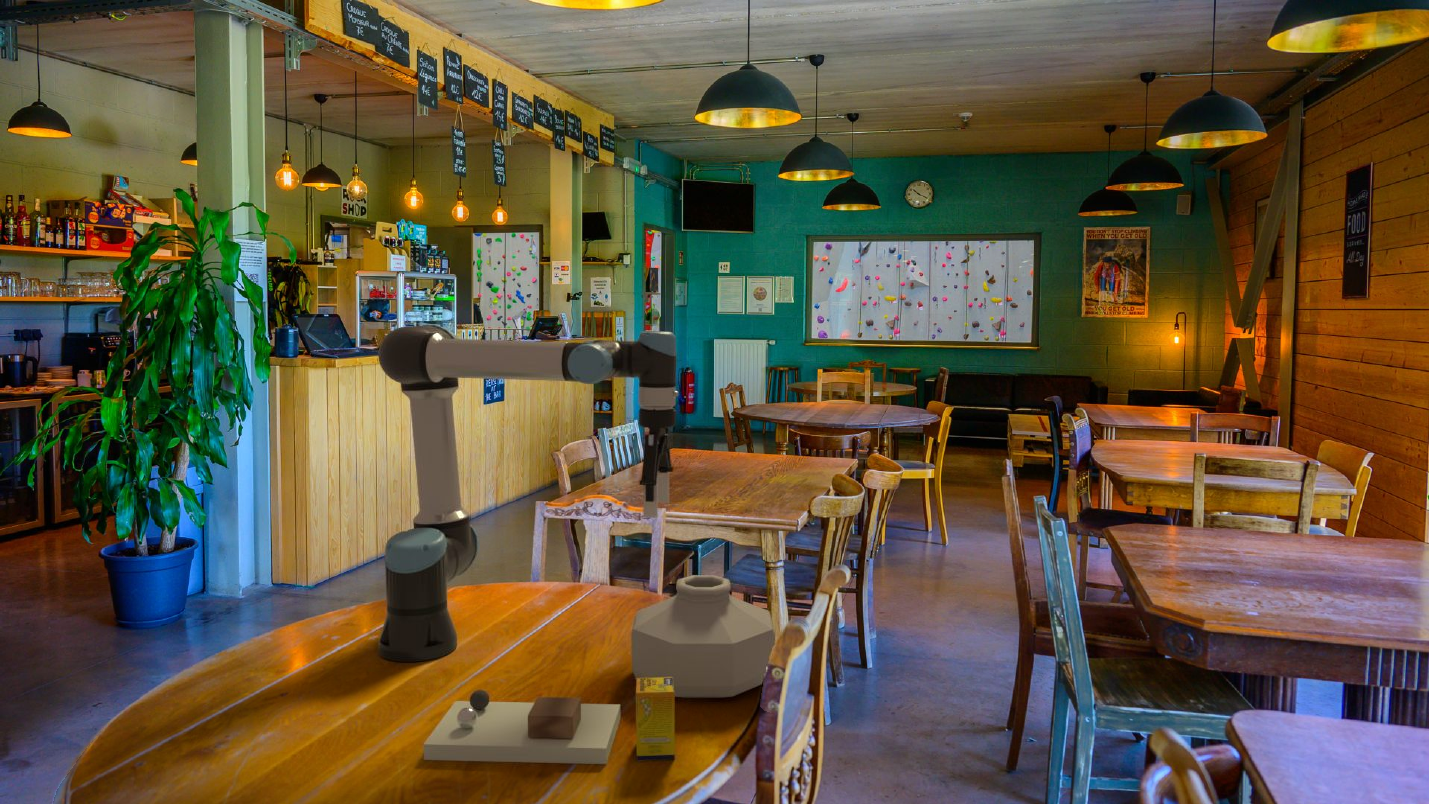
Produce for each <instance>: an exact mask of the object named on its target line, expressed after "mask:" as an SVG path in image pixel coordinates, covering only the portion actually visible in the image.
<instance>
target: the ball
mask: <svg viewBox="0 0 1429 804" xmlns="http://www.w3.org/2000/svg"><path fill="white" fill-rule="evenodd" d="M477 719H478V716H477V712H476V711H475V710H474V709H473V708H469V707H467V708H463V709H462V710H460V712H459V713H458V715H457V723H458V725H459V726H460V727H462V728H465V729H468V728H471V727H473V726H474V725H475V724H476V722H477Z"/></svg>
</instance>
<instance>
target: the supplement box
mask: <svg viewBox="0 0 1429 804" xmlns="http://www.w3.org/2000/svg"><path fill="white" fill-rule="evenodd" d="M675 699H676V697H675V692H674V687H673V678H672V677H658V678H637V679H636V678H635V726H636V727H635V729H636V732H635V733H636V734H635V736H636V739H635V740H636V760H637V761H638V762H640V761H661V760H662V761H665V760H675V759H676V756H675V751H676V750H675V742H676V741H675V740H676V739H675V724H676V723H675V718H676V717H675V711H676V709H675V707H676V706H675V705H676V704H675V703H676V702H675Z"/></svg>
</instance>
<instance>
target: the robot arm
mask: <svg viewBox="0 0 1429 804" xmlns="http://www.w3.org/2000/svg"><path fill="white" fill-rule="evenodd" d="M637 339H638V340H632V341H631V340H630V341H629V340H609V339H608V340H604V339H591V340H584V341H583V342H574V341H573V342H567V341H565V342H563V341H561V342H560V341H534V340H532V341H531V340H506V339H505V340H503V339H501V340H500V339H499V340H498V339H496V340H495V339H472V338H471V339H469V338H468V339H467V338H459V337H458V336H457V334H455V333H454V332H453V331H452V330H450V329H448V328H446V327H443V326H440V325H435V324H424V325H414V326H413V325H412V326H410V325H409V326H408V325H407V326H401V327H397V328H396V329H393V330H391V331H390V332H388V333H387V334H386V336H384V338H383V339H382V341H381V342H380V345H379V349H378V354H377V355H378V356H377V358H378V362H379V365H380V367H381V370H382V371H383V372H384V373H385V375H386V376H387V377H389V379H391V380H393V381H394V382H397V383H400V388H401V389H400V390H401V394H403V395H404V396H406V397H408V399H409V403H410V406H409V407H410V415H411V416H410V417H411V427H412V428H411V429H412V438H413V449H414V450H413V452H414V461H415V471H416V472H415V473H416V485H417V494H418V507H419V511H418V513H417V514H416V515H415V516H414V518H413V519H412V523H413V524H412V525H413V528H411V529H408V530H402V531H400V532H398V533H395V534H393V535H392V536H391V537H390V538H389V539H388V540H387V542H386V543H385V547H384V548H385V553H384V556H383V560H384V567H385V568H384V570H385V591H386V592H385V594H386V617H385V620H384V622H383V626H382V629H381V631H380V632H381V633H380V636H379V639H378V654H379V656H380V657H382V658H383V659H385V660H387V661H388V660H389V661H392V662H401V663H410V662H411V663H413V662H423V661H430V660H434V659H438V658H440V657H443V656H446V655H448V654H451V653H452V652H454V651H455V650H456V649H457V646H458V634H457V631H456V628H455V626H454V623H453V620H452V617H451V615H450V612H449V610H448V583H449V582H451V581H452V580H454V579H456V577H458V576H460V575H462V574H464V573H465V572H466V571H467V570H468V569H469V568H470V567H471V566H472V565H473V563H474V562H475V561H476V559H477V557H478V554H479V551H480V538H479V535H478V531H477V529H476V528H475V527H473V526H472V524H471V521H470V519H471V517H470V512H469V511H467V509H465V508H464V507H462V501H461V500H462V498H461V487H460V476H459V463H458V454H457V451H458V450H457V441H456V440H457V439H456V438H457V437H456V426H455V419H454V418H455V416H454V404H453V396H454V394H455V393H456V391H458V390H459V378H460V379H488V380H489V379H490V380H521V381H523V380H524V381H547V382H548V381H550V382H551V381H553V382H554V381H555V382H574V383H575V382H576V383H581V384H585V385H594V384H598V383H602V382H603V381H605V380H609V379H612V378H631V379H635V378H638V405H639V406H640V408H639V409H638V425H639V426H640V427H642V428H647V429H648V430H649V431H648V434H645V435H644V450H643V460H642V461H643V462H642V473H641V479H640V480H639V482H638V483H639V485H640V486H643V494H642V495H643V508H642V509H643V510H642V511H643V513H642V515H643V516H642V517H643V518H658V508H659V507H658V504H670V473H673V472H674V467H673V466H672V461H671V450H670V436H669V435H670V432H669V431H670V428H673V427H675V426H676V424H677V423H676V419H677V416H676V413H677V410H676V408H674V407H675V406H676V398H677V397H679V391H677V390H676V389H677V388H676V386H677V357H678V355H677V353H678V352H677V346H676V345H677V344H676V343H677V342H676V335H675V334H674V333H673V332H671V331H657V330H655V331H649V330H648V331H647V330H646V331H641V332H640V333H639V336H638V338H637Z"/></svg>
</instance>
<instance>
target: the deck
mask: <svg viewBox="0 0 1429 804" xmlns="http://www.w3.org/2000/svg"><path fill="white" fill-rule="evenodd" d="M534 703H535V702H521V701H520V702H519V701H517V702H516V701H515V702H513V701H508V702H507V701H489V704H488V705H487V707H486V708H484V709H482V710H476V709H474V708H473V707H472V706H471V705H470V700H468V701H467V700H456V701H454V703H453V704H452V705H451V707H450V708H449V709H448V710H447V711H446V713H445V715H444V716H443V718H441V720H440V721H439V723H438V724H437V725H436V726H435V728H434V729H433V731H432V732H431V733H430V735H429V736H428V738H427V739H426V740H425V741H424V743H423V760H424V761H450V762H451V761H453V762H454V761H459V762H460V761H461V762H495V763H496V762H497V763H500V762H502V763H505V762H506V763H535V764H537V763H539V764H540V763H543V764H545V763H547V764H577V765H578V764H582V765H583V764H585V765H588V764H589V765H597V764H598V765H607V763H608V760H609V756H610V754H611V750H612V747H613V744H614V740H615V737H616V734H617V731H618V728H619V725H620V721H621V704H619V703H618V704H614V703H612V704H611V703H610V704H608V703H581V720H580V722H579V725H578V727H577V730H576V732H575V735H574V737H573V738H539V737H528V714H529V712H530V710H531V708H532V707H533V705H534ZM467 707H469V708H473V709H474V710H475V711H476V712H477V716H478V719H477V722H476V724H475V725H474V726H473V727H471V728H468V729H465V728H462V727H460V726H459V725H458V723H457V715H458V713H459V712H460V710H462V709H463V708H467Z"/></svg>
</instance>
